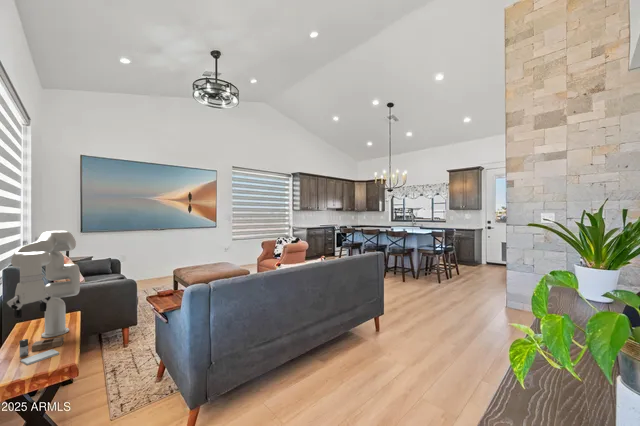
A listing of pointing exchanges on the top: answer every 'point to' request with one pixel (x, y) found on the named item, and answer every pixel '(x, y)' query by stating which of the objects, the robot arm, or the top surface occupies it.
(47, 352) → the hard drive
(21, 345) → the metal cylinder
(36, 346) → the block with rectangular opening
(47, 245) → the robot arm
